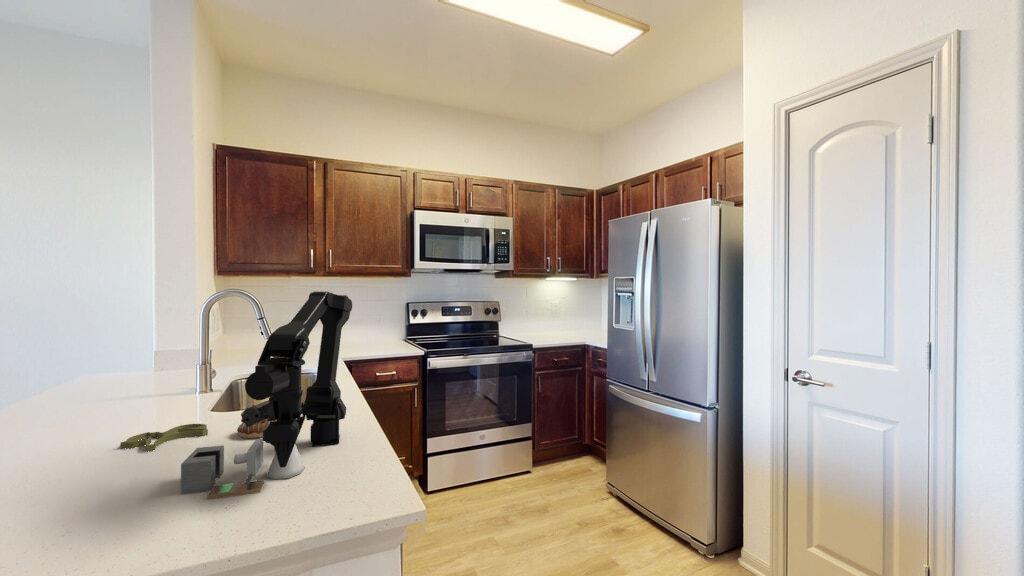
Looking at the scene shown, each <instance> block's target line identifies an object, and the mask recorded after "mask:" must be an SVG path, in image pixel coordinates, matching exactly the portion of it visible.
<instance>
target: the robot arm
mask: <svg viewBox="0 0 1024 576" xmlns="http://www.w3.org/2000/svg"><path fill="white" fill-rule="evenodd" d="M352 310H353V301H352V299H350V298H349V296H348V295H346V294H343V295H342V294H341V295H340V294H335V293H333V292H331V291H316V290H315V291H313V292H310V293H309V295H308V298H307V300H306V301H305V302H304V304H303V305H302V306H301V308H300V309H299V311H297V313H296V314H295V315H294V317H293V318H292V319H291V321H289V322H288V323H287V324H283V325H281V326H278V328H276V329H275V330H274V331H273V332H272V333H271V334H270V335H269V336H268V338H267V340H266V342H265V344H264V347H263V350H262V352H261V354H260V355H259V359H258V361H257V365H255V366H254V372H253V373H251V374H250V375H248V377H247V378H246V381H245V383H244V388H245V392H246V394H247V395H248V397H250V398H251V399H253V400H255V401H262V400H263V401H262V402H260V403H258V404H255V405H254V404H253V405H252V406H250V407H246V408H245V409H244V410H243V411H242V412H241V413H240V416H241V420H240V421H241V423H245V425H246V427H250V426H252V425H253V424H255V423H258V422H260V421H263V420H265V419H267V418H268V421H273V422H270V423H269V424H268V425H267V426H266V428H265V429H264V431H263V437H262V439H263V441H264V442H265V443H266V444H270V445H271V446H272V447H273V448H274V451H275V452H274V453H276V455H277V458H278V462H279V465H280V467H281V468H282V467H286V465H287V463H288V460H289V458H290V455H291V453H292V450H293V448H294V445H296V443H297V440H298V438H299V435H300V433H301V430H302V428H303V425H304V421H305V420H306V421H312V423H311V425H310V436H309V437H310V438H309V439H310V442H311V446H312V447H320V446H328V445H337V444H340V438H341V435H340V420H345V419H346V414H347V407H346V405H345V403H344V401H343V400H342V398H341V395H342V394H341V393H342V390H341V388H340V387H339V385H338V383H337V373H338V363H339V354H340V348H341V347H340V345H341V336H342V329H343V327H344V326H345V324H346V323H347V322H348V321H349V319H350V315H351V311H352ZM319 321H320V323H321V324H322V332H321V339H320V347H319V354H318V362H317V370H316V379H315V381H314V382H313V383H312V385H311V386H307V388H306V393H305V394H306V395H305V398H304V399H305V400H304V403H303V402H302V397H303V389H302V366H304V365H305V364H306V361H305V360H304V359H303V358H304V356H305V354H306V353H307V351H308V349H309V346H310V337H309V336H310V334H311V332H312V331H313V329H314V328H315V327H316V325H317V323H318V322H319ZM266 399H268V400H266ZM264 400H265V401H264ZM275 420H277V421H275Z"/></svg>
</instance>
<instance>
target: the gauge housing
mask: <svg viewBox="0 0 1024 576" xmlns="http://www.w3.org/2000/svg"><path fill="white" fill-rule="evenodd" d="M224 464H225V445H215V446H205V447H196V448H195V450H194V451H193V452H192V453H190V454H189V455H188V457H187V458H185V460H184V461H182V463H181V465H180V495H189V494H195V493H202V492H208V493H207V495H206V500H213V499H219V498H220V499H221V498H227V497H235V496H242V495H251V494H256V493H257V494H258V493H259V494H260V493H261V491H262V489H263V488H264V485H265V479H261V480H260V479H259V480H252V481H251V480H250V482H249V484H247V485H245V481H244V482H238V483H236V482H235V483H234V482H233V483H225V484H223V485H222V484H221V485H216V479H220V478H221V477H222V476H223V475H224V472H225V470H224V469H225V468H224V467H225V465H224Z"/></svg>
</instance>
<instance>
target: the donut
mask: <svg viewBox="0 0 1024 576" xmlns="http://www.w3.org/2000/svg"><path fill="white" fill-rule="evenodd" d="M275 421H277V420H275ZM270 422H273V421H268V418H267V419H265V420H263V421H260V422H258V423H255V424H253V425H252V426H250V427H246V425H245V423H243V422H241V423H240V424H239V425H238V427H237V434H238V435H239V436H240V437H242V438H244V439H262V438H263V431H264V429H265V428H266V426H267V425H268V424H269V423H270Z"/></svg>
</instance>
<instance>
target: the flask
mask: <svg viewBox="0 0 1024 576" xmlns="http://www.w3.org/2000/svg"><path fill="white" fill-rule="evenodd" d="M272 458H273V459H272V462H271V463H270V466H269V468H268V470H267V472H266V477H268V478H271V479H273V480H277V479H278V480H279V479H290V478H293V477H295V476H297V475H300V474H302V473H303V471H304V470H305V469H306V466H305V464H304V461H303V459H302V457H301V455H300V452H299V450H298V447H297V445H296V444H295V445H294V448H293V450H292V453H291V455H290V458H289V460H288V463H287V465H286V467H282V468H281V467H280V465H279V462H278V458H277V455H276V452H274V456H273V457H272Z"/></svg>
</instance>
